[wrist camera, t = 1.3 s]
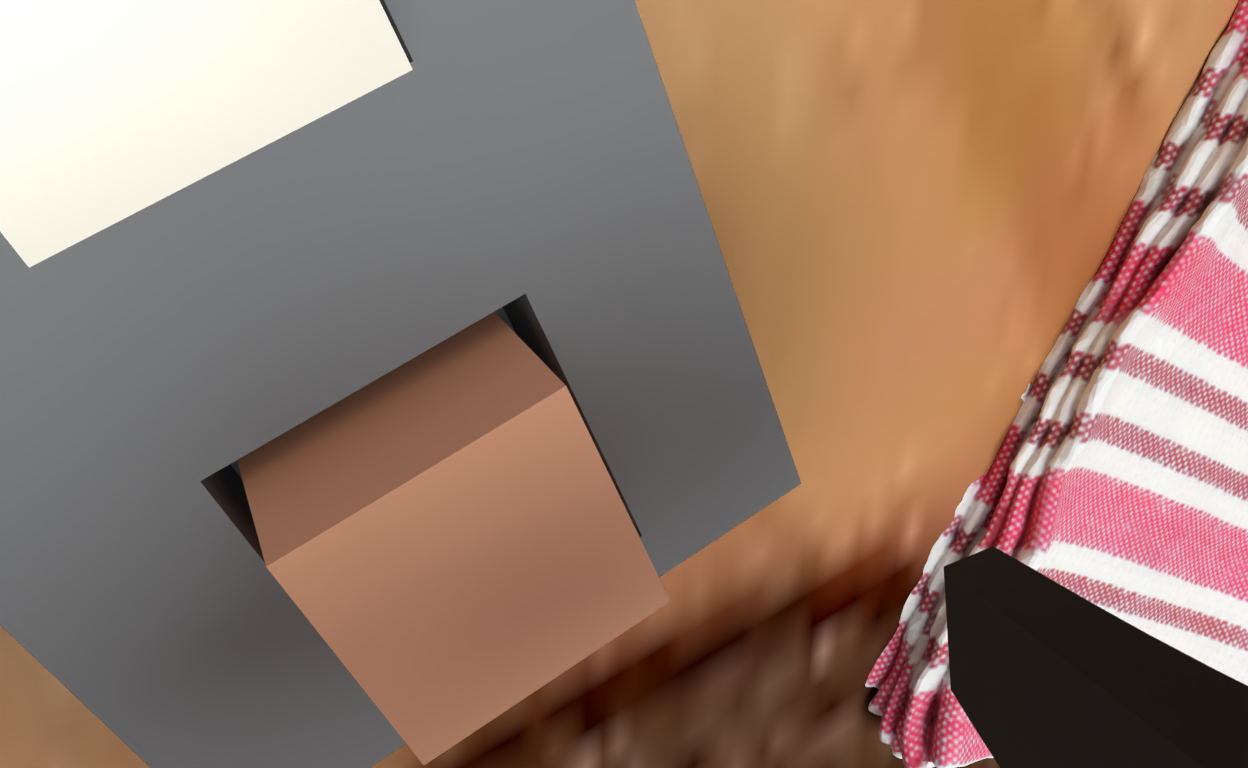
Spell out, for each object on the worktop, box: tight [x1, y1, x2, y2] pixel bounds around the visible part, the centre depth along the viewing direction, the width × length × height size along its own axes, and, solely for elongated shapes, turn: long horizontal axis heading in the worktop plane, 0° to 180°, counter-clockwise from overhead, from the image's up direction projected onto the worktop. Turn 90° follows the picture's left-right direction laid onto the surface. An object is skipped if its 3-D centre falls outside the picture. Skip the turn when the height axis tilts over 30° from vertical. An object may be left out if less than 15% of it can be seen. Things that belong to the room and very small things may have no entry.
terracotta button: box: [237, 312, 670, 765], centre depth 15 cm, size 4×4×3 cm
